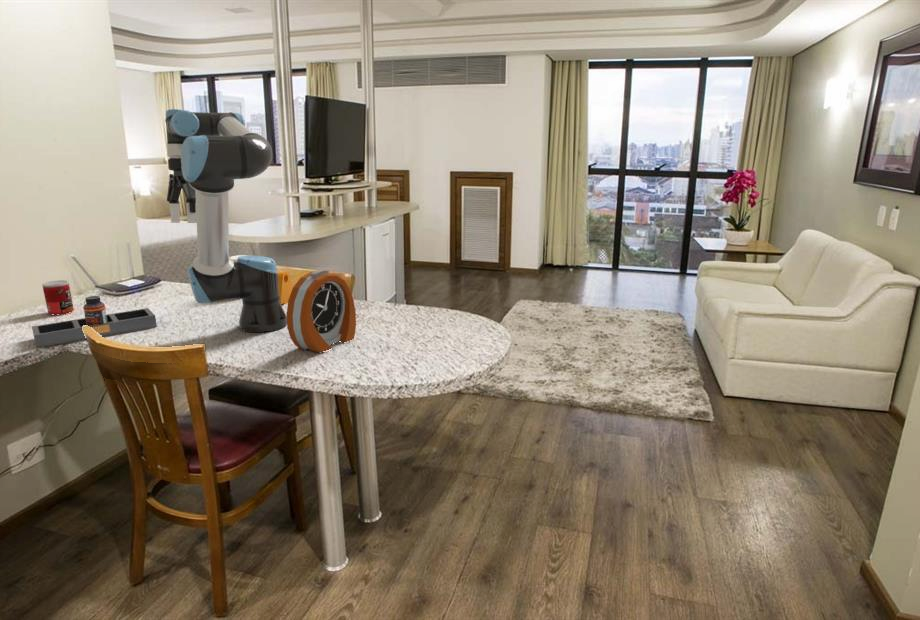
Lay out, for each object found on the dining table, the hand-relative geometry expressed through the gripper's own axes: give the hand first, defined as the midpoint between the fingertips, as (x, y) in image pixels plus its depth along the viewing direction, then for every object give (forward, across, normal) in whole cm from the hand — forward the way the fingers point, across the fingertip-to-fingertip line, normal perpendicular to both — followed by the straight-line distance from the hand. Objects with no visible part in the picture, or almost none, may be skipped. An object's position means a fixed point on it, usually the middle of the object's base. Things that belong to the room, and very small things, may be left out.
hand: (183, 223), depth 202 cm
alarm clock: (+36, -57, -18) cm, 69 cm away
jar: (+28, +16, -28) cm, 43 cm away
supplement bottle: (+35, +6, +26) cm, 44 cm away
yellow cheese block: (+29, -4, -32) cm, 44 cm away
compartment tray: (+35, +6, +26) cm, 45 cm away
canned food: (+33, +41, +28) cm, 59 cm away
